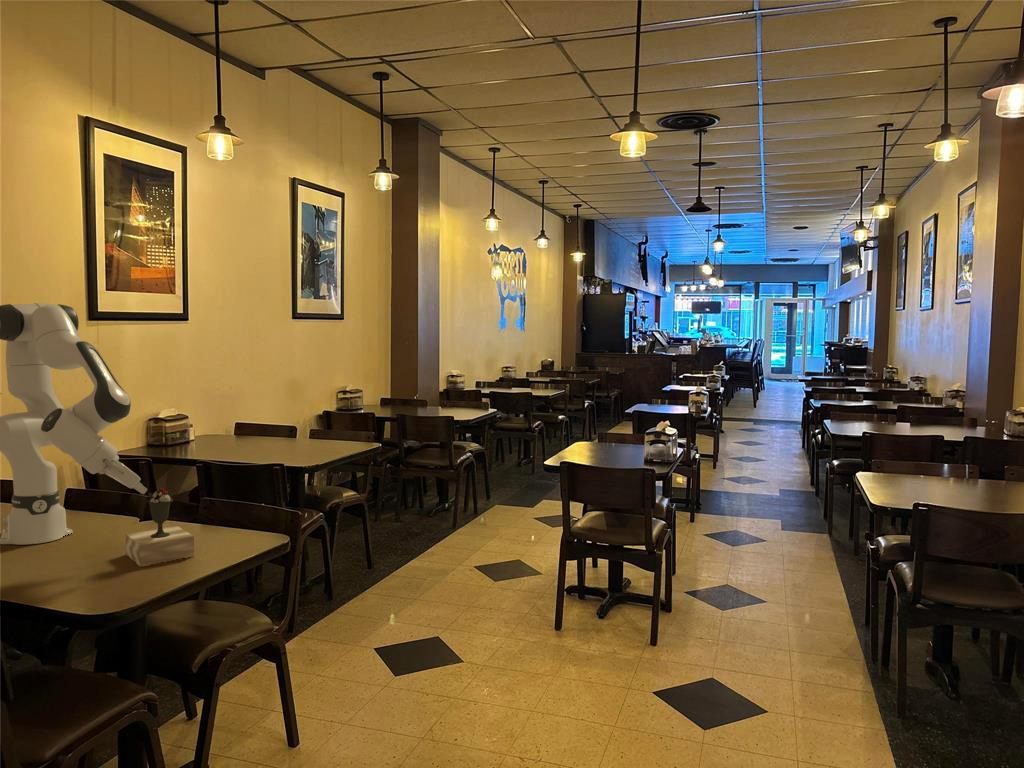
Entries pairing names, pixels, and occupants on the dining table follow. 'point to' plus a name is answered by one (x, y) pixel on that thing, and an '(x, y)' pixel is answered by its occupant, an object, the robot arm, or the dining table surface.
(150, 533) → the block
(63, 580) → the dining table surface
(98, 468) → the robot arm
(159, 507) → the sundae
